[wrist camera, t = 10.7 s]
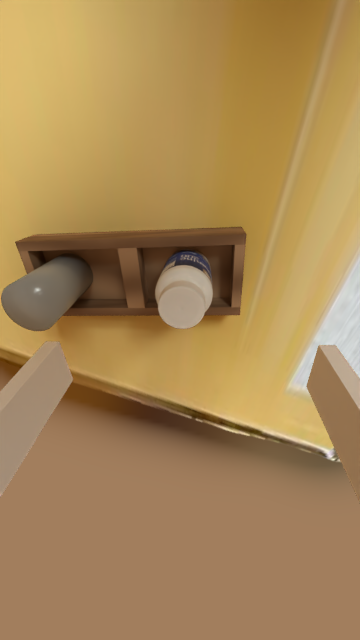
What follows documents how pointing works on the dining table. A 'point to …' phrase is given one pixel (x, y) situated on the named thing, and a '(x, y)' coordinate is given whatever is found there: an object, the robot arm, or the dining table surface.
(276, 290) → the dining table surface
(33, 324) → the grey rounded cylinder
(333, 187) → the dining table surface
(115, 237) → the rack
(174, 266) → the pill bottle
